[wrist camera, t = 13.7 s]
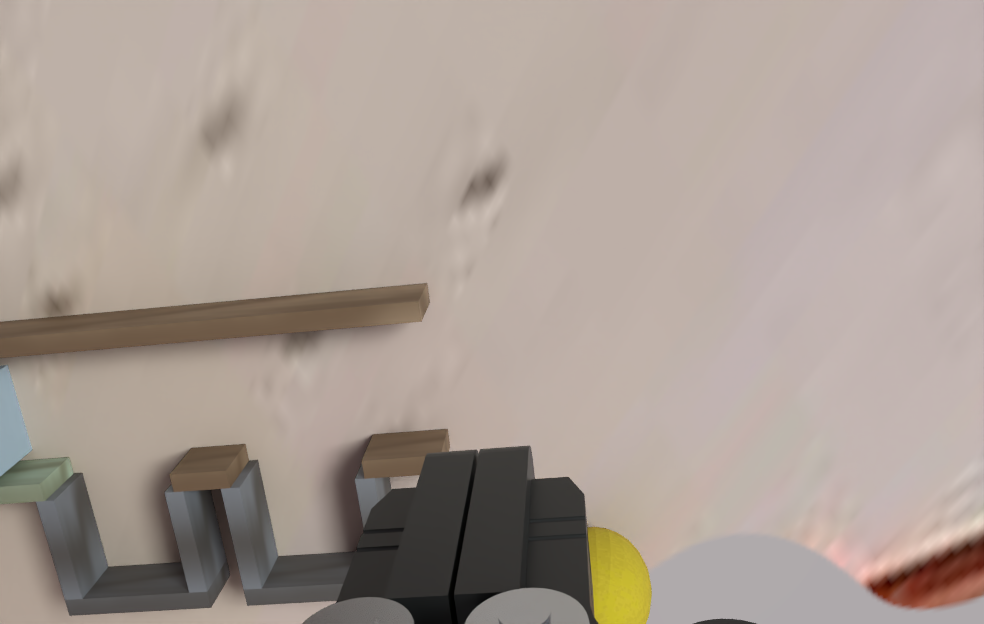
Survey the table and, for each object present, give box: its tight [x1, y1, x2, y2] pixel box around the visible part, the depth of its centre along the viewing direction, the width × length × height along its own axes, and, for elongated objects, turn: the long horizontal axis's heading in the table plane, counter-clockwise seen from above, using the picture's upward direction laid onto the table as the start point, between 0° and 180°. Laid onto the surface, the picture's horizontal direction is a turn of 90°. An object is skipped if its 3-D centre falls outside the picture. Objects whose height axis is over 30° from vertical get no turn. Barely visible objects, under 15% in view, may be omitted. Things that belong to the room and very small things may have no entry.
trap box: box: [0, 283, 450, 616], centre depth 48 cm, size 16×29×3 cm, turn 97°
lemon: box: [587, 527, 652, 624], centre depth 46 cm, size 6×6×8 cm
